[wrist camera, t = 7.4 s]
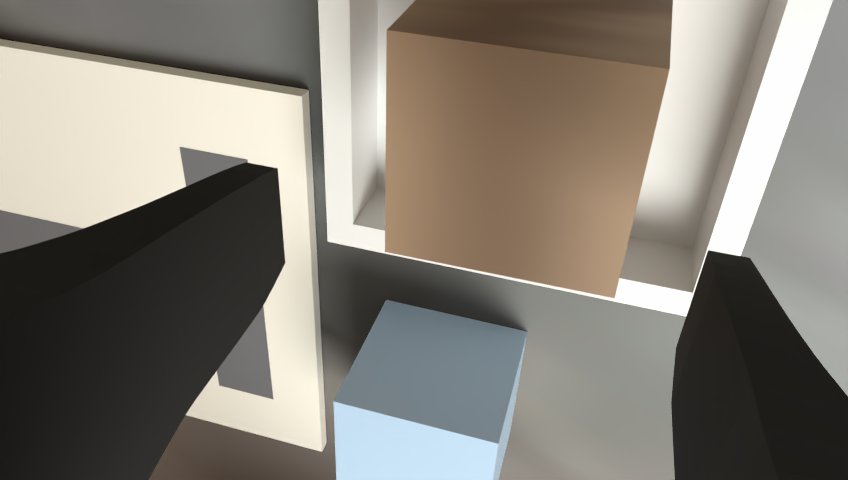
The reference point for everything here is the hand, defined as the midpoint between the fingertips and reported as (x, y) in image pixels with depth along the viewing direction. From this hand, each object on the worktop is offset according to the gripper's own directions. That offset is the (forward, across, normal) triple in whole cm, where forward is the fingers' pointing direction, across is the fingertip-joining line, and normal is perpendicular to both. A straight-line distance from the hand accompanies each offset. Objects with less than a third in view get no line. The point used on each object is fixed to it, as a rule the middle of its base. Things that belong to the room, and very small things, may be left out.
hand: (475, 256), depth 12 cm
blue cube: (+9, +2, +12) cm, 15 cm away
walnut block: (+9, 0, 0) cm, 9 cm away
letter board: (+9, +15, +10) cm, 20 cm away
